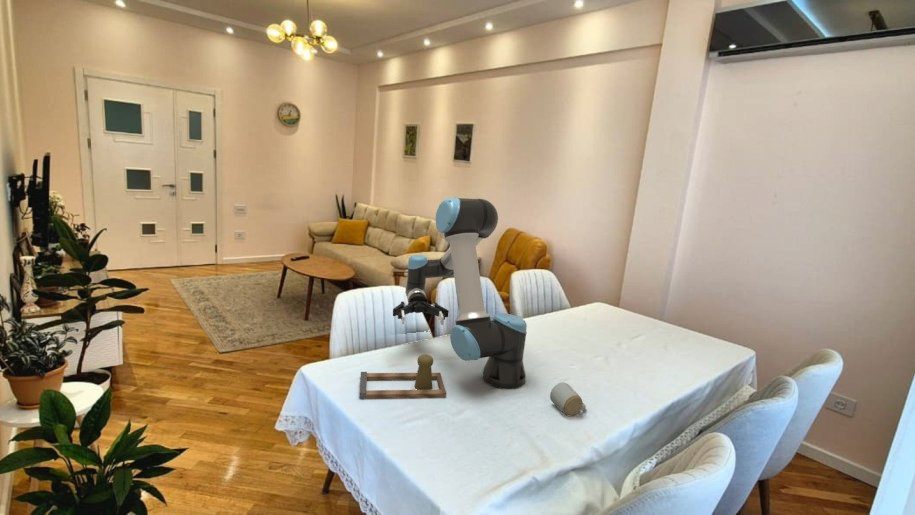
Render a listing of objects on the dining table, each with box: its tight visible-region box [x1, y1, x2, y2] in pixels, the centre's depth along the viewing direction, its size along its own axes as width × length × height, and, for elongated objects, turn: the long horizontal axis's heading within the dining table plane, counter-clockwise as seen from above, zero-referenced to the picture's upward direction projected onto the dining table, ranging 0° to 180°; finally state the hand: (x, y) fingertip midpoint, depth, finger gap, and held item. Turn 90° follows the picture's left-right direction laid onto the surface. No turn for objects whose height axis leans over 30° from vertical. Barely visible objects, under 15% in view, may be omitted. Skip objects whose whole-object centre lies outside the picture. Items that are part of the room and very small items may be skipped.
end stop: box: [358, 371, 368, 400], centre depth 146 cm, size 2×14×2 cm, turn 10°
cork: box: [413, 354, 434, 390], centre depth 149 cm, size 6×6×11 cm
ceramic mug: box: [549, 381, 587, 416], centre depth 143 cm, size 11×8×8 cm
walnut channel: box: [365, 372, 447, 400], centre depth 148 cm, size 25×14×2 cm, turn 100°
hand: (423, 321), depth 157 cm, fingers open, 13 cm apart
